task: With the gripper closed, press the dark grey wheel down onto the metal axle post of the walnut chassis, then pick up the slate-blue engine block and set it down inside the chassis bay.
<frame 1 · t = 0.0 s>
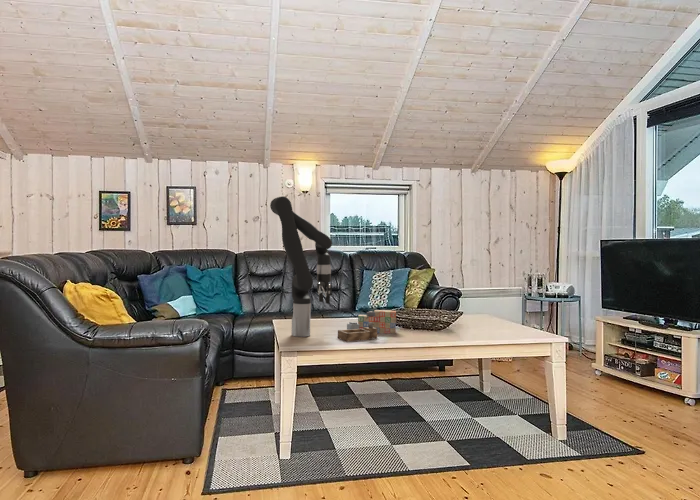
hand: (324, 302, 273), 17 cm above the table, tool pointing down, fingers open, 8 cm apart
engine block: (353, 334, 272), on the table
wheel: (371, 313, 265), point 13 cm above the table, slide at 3.0 cm
stack of blocks: (376, 332, 283), on the table
chassis: (354, 338, 260), on the table
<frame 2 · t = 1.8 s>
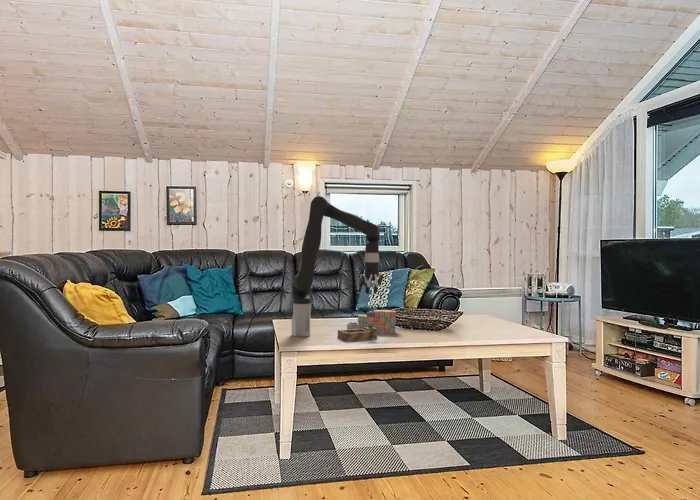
hand: (371, 293, 265), 23 cm above the table, tool pointing down, fingers open, 4 cm apart
nothing on the table moved.
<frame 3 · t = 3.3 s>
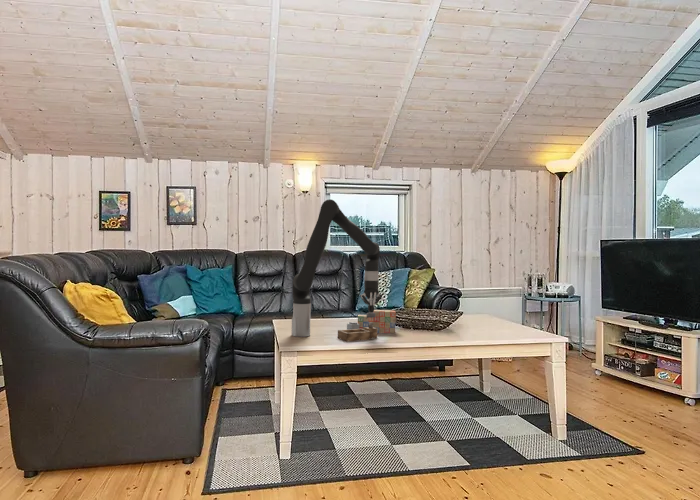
hand: (371, 312, 265), 13 cm above the table, tool pointing down, fingers closed
wheel: (370, 314, 265), point 12 cm above the table, slide at 2.5 cm, touching gripper
everything else where it was.
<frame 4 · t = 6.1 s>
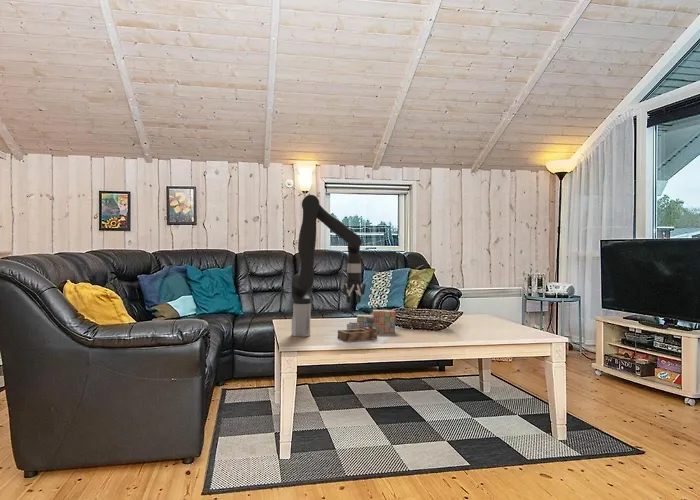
hand: (353, 302, 272), 17 cm above the table, tool pointing down, fingers open, 5 cm apart
wheel: (370, 319, 265), point 9 cm above the table, slide at -0.1 cm
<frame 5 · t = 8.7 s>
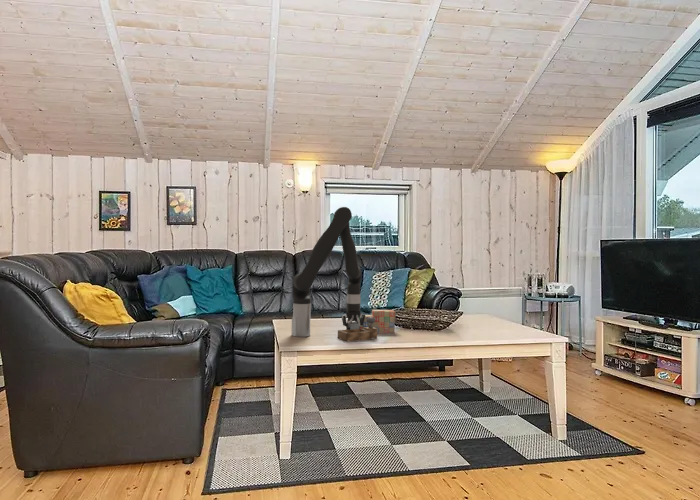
hand: (353, 333, 273), 1 cm above the table, tool pointing down, fingers closed on engine block, 5 cm apart
engine block: (353, 334, 272), on the table, touching gripper
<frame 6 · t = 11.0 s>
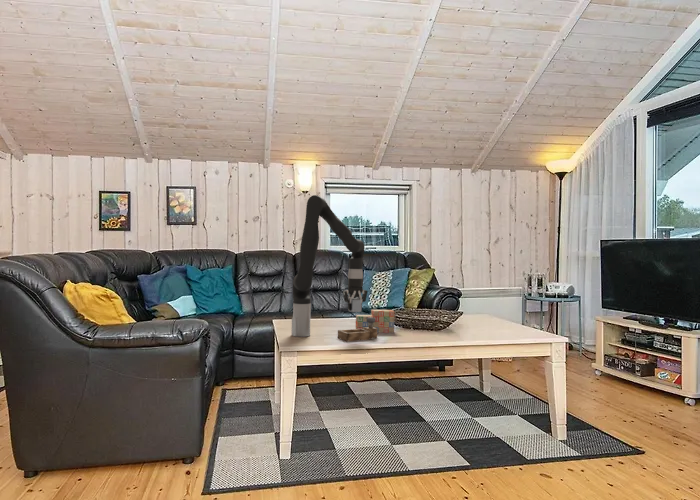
hand: (355, 310, 260), 15 cm above the table, tool pointing down, fingers closed on engine block, 5 cm apart
engine block: (354, 311, 260), point 14 cm above the table, touching gripper
when the fingers open (2 cm above the table, at t = 13.6 s): engine block drops 2 cm, resting in chassis.
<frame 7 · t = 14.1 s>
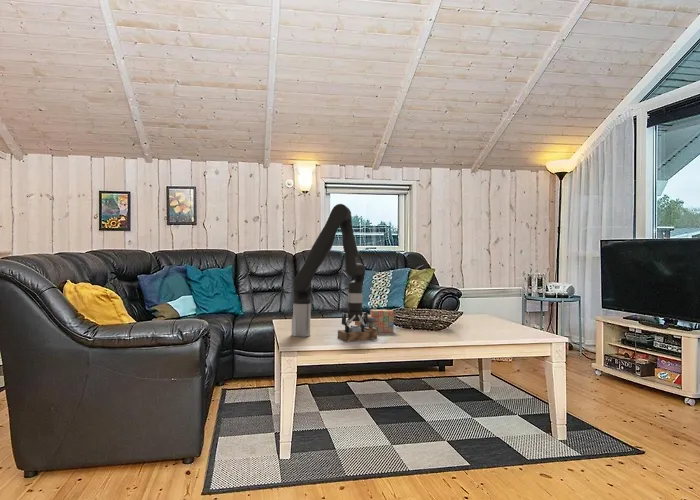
hand: (354, 332, 260), 3 cm above the table, tool pointing down, fingers open, 8 cm apart
engine block: (354, 338, 260), resting in chassis
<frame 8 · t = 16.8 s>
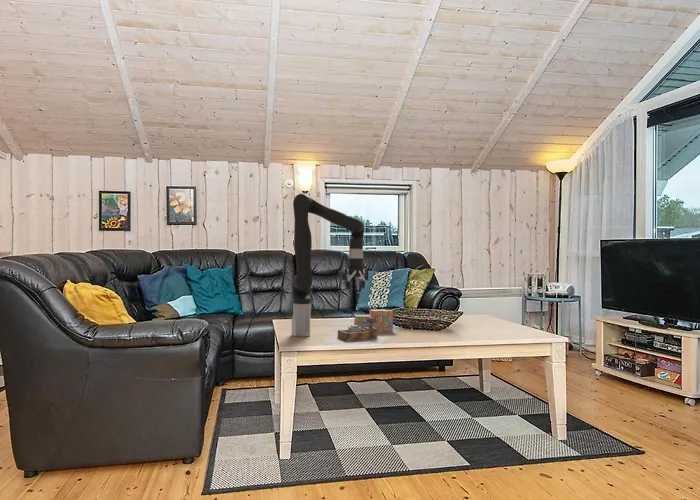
hand: (355, 288, 260), 26 cm above the table, tool pointing down, fingers open, 8 cm apart
at the end: engine block inside the target area (0.0 cm from its centre), resting in chassis; wheel slide at -0.1 cm; engine block tilted 0° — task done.
